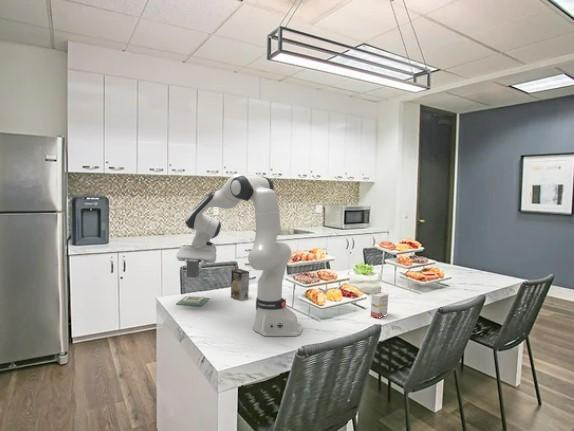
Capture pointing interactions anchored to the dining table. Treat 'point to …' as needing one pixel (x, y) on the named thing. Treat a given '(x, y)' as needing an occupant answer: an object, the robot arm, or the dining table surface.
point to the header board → (193, 301)
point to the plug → (192, 268)
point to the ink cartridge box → (379, 303)
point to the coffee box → (239, 284)
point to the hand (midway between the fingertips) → (192, 268)
